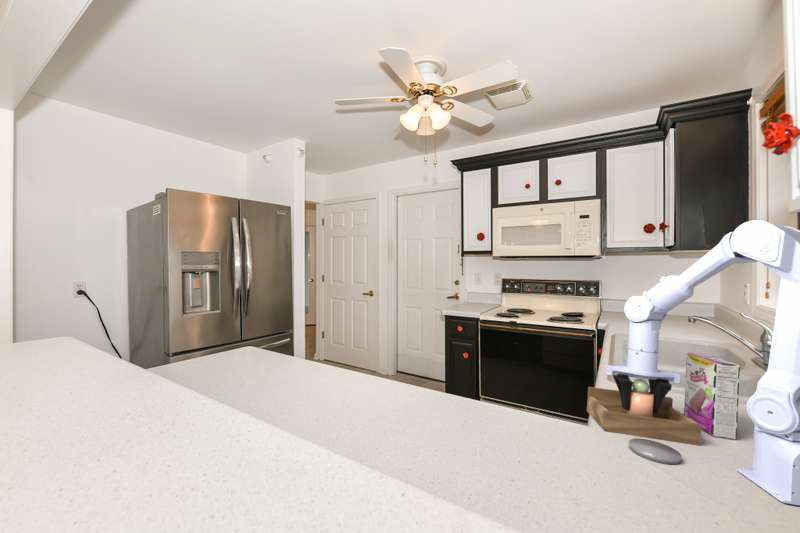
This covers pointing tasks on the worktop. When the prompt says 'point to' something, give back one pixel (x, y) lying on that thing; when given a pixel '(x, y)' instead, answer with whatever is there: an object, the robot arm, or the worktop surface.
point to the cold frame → (641, 419)
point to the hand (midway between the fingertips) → (639, 410)
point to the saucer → (655, 451)
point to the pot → (641, 399)
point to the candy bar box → (712, 394)
